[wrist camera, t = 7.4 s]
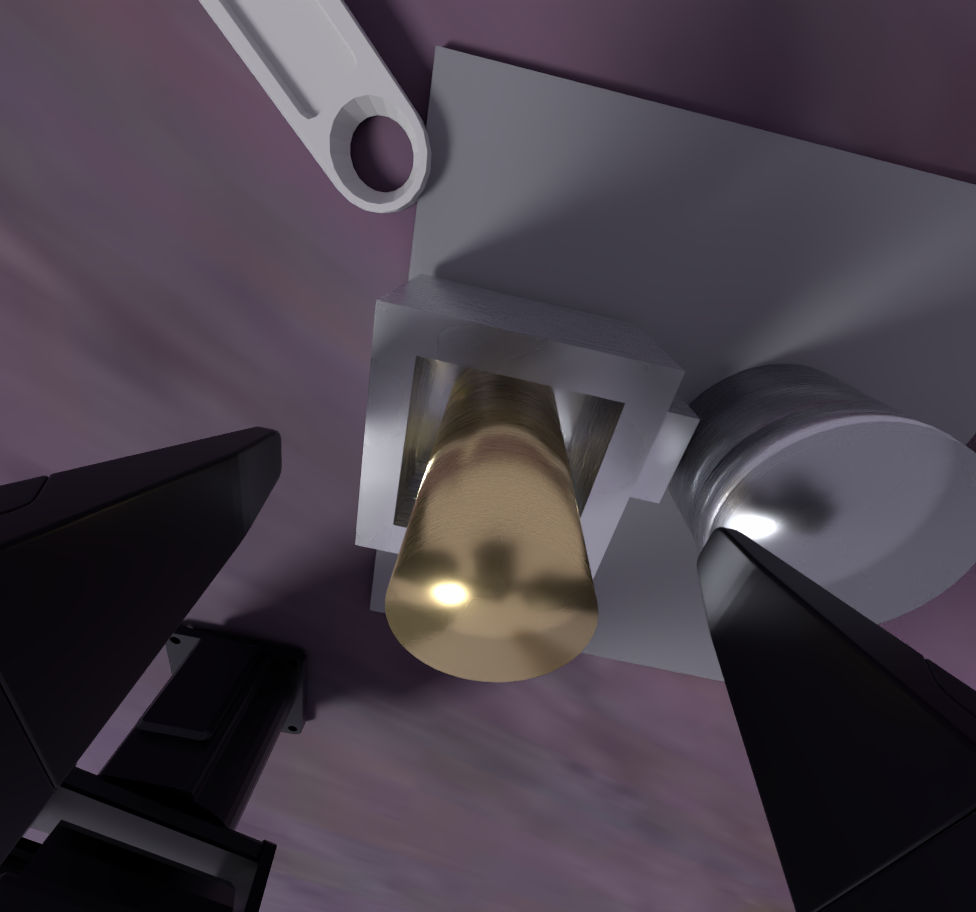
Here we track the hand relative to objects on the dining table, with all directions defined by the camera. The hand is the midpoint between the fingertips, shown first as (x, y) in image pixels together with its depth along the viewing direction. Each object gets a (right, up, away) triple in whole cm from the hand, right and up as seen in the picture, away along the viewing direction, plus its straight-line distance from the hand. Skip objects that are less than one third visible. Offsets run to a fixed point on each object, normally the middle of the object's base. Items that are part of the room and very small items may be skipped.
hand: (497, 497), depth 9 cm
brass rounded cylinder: (0, +2, +4) cm, 5 cm away
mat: (+5, 0, +6) cm, 8 cm away
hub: (+9, +1, +6) cm, 11 cm away
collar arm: (+7, +1, +5) cm, 9 cm away
